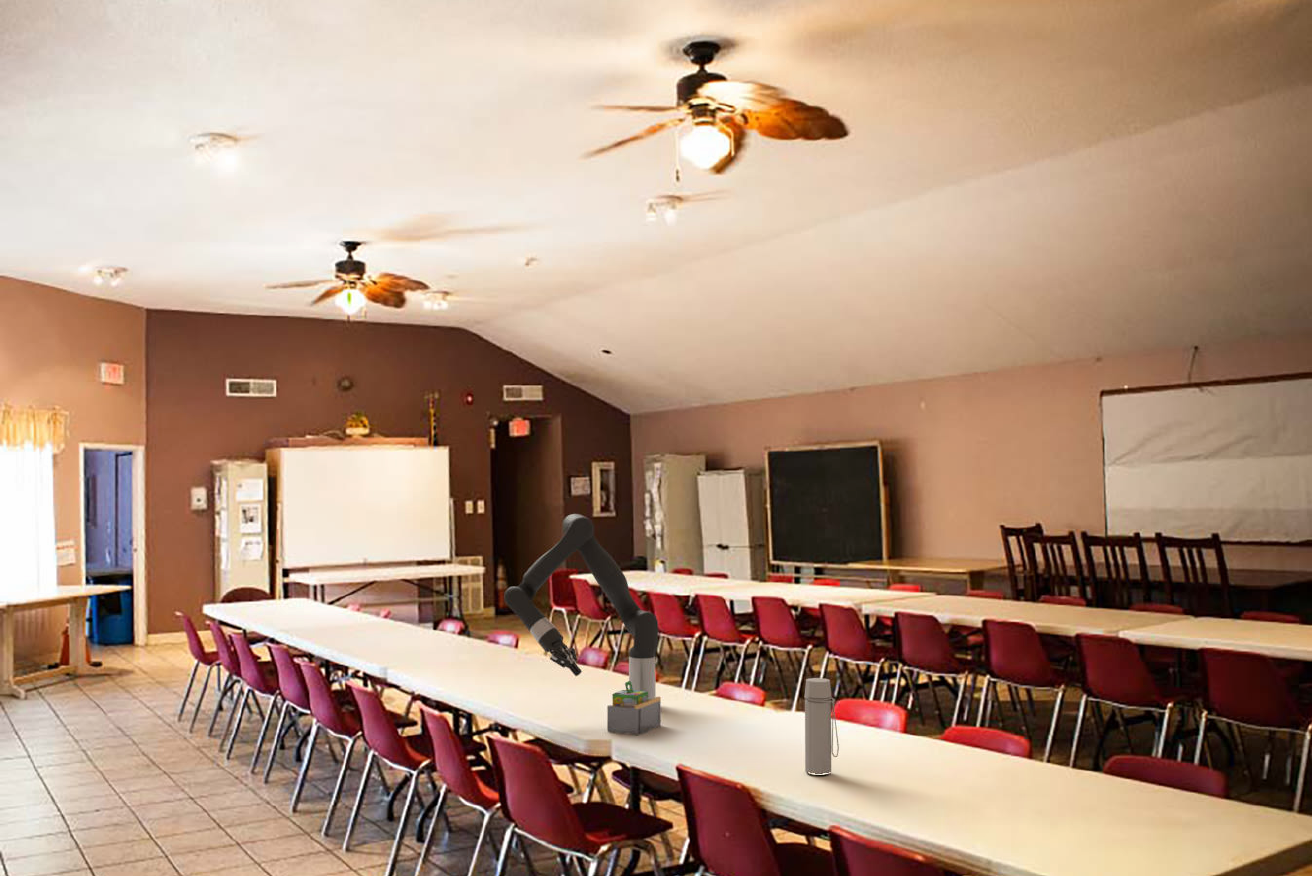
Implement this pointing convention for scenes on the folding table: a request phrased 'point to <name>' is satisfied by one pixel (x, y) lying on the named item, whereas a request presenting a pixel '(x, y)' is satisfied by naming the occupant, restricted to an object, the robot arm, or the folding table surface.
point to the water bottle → (818, 726)
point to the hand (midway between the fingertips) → (579, 674)
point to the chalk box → (629, 697)
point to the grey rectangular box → (634, 717)
